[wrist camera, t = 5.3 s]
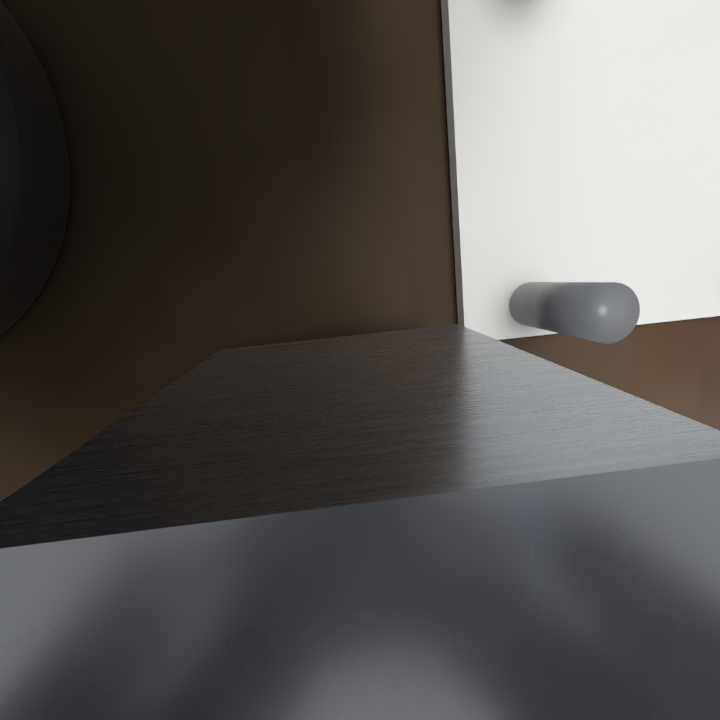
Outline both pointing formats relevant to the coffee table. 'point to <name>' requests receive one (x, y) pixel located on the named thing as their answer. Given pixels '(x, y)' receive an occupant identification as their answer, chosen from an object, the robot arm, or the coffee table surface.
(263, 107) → the coffee table surface
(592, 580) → the block
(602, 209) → the pin tray
